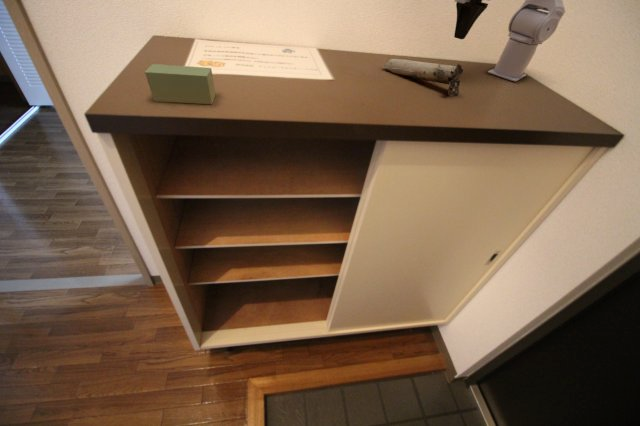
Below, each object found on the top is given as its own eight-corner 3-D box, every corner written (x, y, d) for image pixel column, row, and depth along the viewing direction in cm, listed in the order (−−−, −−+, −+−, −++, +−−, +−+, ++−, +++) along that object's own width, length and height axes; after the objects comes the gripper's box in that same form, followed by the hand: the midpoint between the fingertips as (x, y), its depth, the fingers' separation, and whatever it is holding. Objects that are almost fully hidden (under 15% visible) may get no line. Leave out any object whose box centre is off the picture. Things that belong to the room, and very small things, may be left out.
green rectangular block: (160, 92, 53) (152, 63, 50) (215, 95, 55) (211, 67, 51) (153, 101, 51) (144, 71, 47) (211, 104, 52) (206, 76, 48)
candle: (446, 99, 65) (458, 69, 60) (383, 69, 75) (389, 42, 70) (460, 94, 68) (473, 65, 63) (398, 66, 78) (405, 39, 73)
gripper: (483, -38, 65) (457, 30, 74) (453, -41, 57) (429, 37, 66) (514, -34, 61) (483, 38, 71) (487, -36, 53) (457, 45, 63)
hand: (459, 38), depth 68 cm, fingers closed
